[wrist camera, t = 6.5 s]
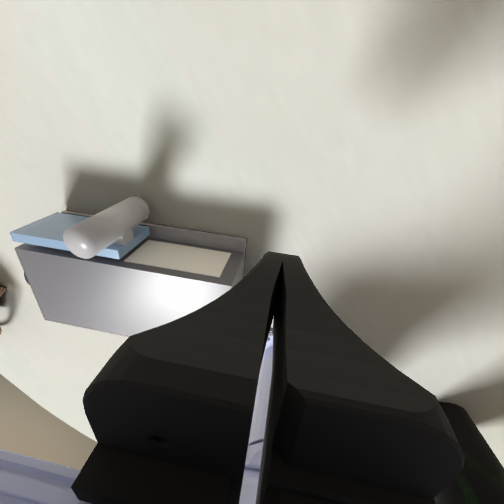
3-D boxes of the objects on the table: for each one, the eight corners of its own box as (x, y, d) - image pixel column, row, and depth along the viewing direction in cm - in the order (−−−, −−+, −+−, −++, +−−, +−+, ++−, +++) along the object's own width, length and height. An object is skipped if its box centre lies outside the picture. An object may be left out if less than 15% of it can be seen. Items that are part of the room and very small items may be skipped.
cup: (385, 426, 29) (432, 600, 19) (419, 387, 25) (500, 578, 15) (454, 445, 29) (540, 633, 18) (498, 408, 25) (639, 619, 15)
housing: (246, 238, 21) (232, 272, 16) (240, 313, 25) (227, 356, 20) (52, 208, 22) (-7, 231, 18) (76, 283, 26) (32, 317, 22)
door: (150, 196, 19) (91, 230, 14) (154, 235, 21) (103, 278, 16) (48, 182, 20) (-45, 208, 15) (59, 220, 22) (-20, 256, 16)
